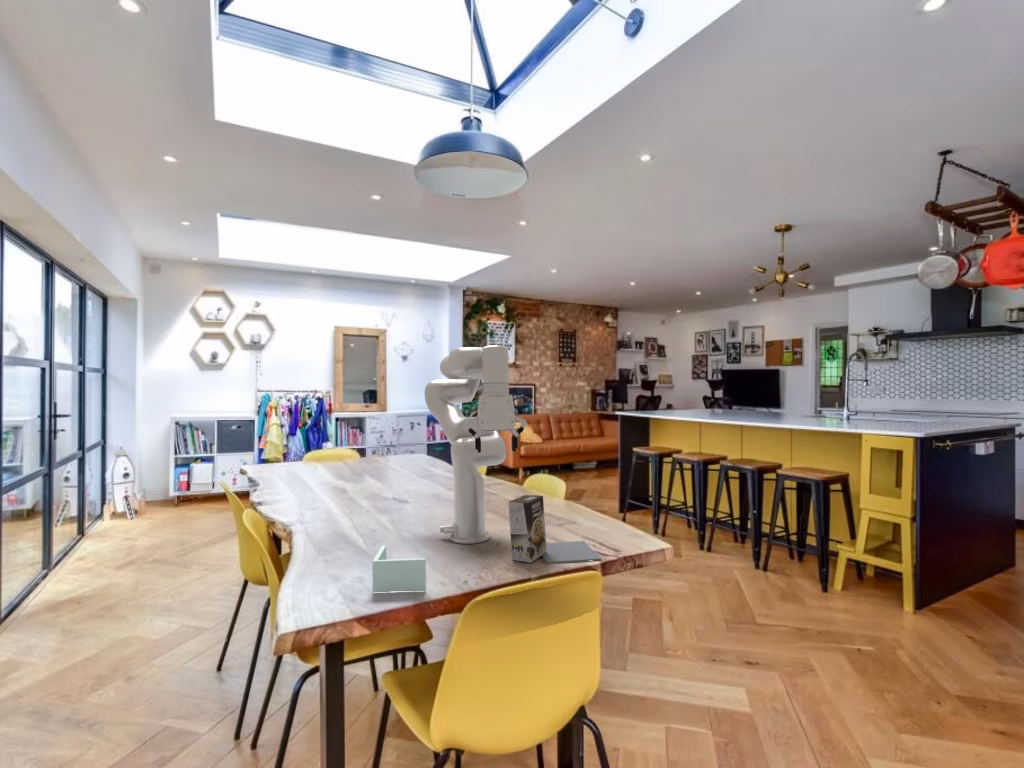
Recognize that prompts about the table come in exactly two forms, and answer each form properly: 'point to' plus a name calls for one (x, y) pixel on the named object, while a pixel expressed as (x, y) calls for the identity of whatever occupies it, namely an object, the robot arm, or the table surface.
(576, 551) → the mat
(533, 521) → the coffee box
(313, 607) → the table surface
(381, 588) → the right angle wall
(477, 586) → the table surface
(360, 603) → the table surface
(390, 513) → the table surface
